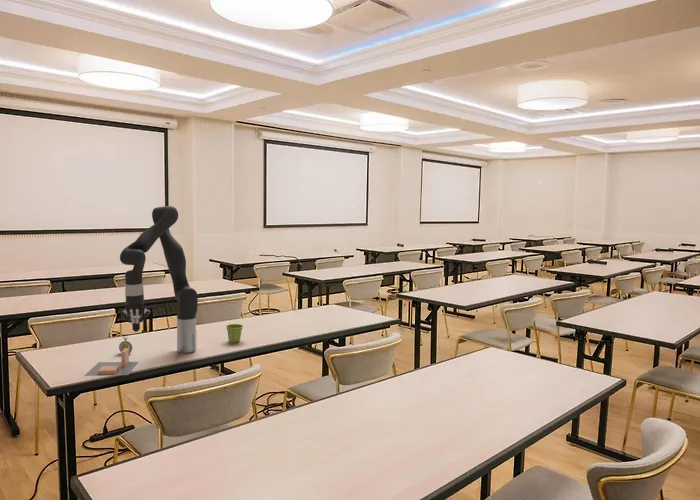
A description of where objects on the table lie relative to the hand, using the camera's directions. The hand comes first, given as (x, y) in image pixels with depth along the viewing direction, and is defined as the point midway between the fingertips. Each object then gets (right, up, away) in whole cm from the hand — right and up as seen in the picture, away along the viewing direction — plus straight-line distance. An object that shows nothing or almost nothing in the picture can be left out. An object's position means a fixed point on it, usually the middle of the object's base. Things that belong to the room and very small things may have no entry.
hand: (136, 331), depth 227 cm
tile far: (-7, -16, +4) cm, 18 cm away
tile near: (-6, -16, -5) cm, 18 cm away
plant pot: (+33, -14, +52) cm, 63 cm away
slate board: (-10, -18, -1) cm, 21 cm away
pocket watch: (-14, -16, +18) cm, 28 cm away
